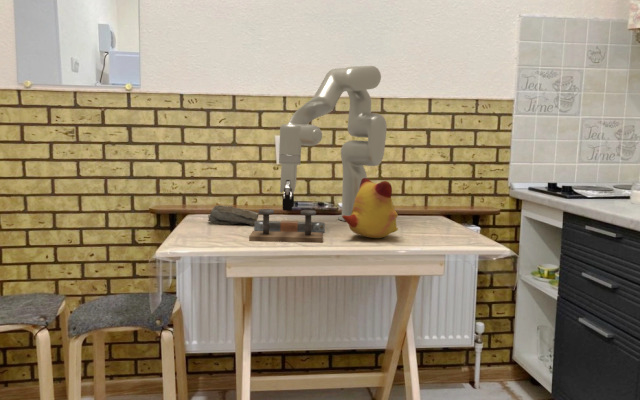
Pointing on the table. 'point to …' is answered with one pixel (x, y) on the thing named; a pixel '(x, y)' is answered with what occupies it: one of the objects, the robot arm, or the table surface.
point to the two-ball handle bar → (289, 226)
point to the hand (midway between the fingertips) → (288, 208)
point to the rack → (286, 236)
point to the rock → (232, 215)
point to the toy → (373, 210)
